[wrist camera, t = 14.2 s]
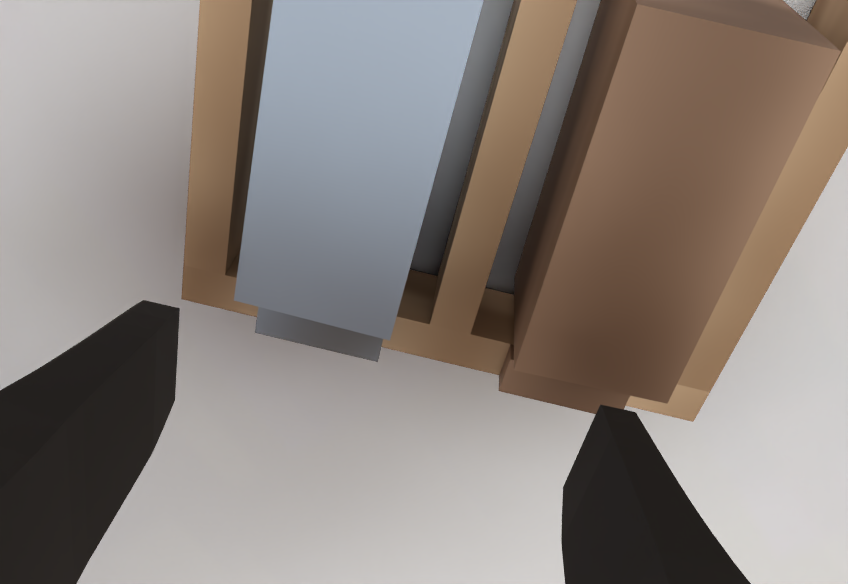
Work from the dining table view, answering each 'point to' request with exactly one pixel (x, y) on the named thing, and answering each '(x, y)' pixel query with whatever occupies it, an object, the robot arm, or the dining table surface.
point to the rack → (477, 207)
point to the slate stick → (348, 153)
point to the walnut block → (659, 184)
